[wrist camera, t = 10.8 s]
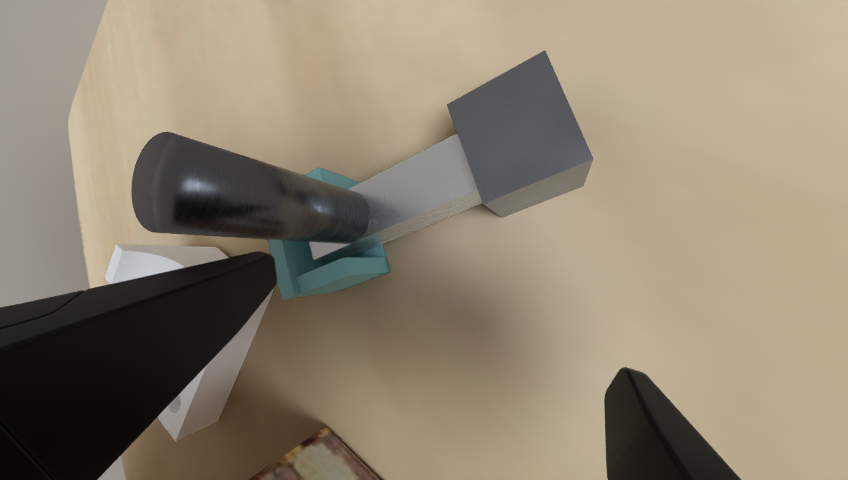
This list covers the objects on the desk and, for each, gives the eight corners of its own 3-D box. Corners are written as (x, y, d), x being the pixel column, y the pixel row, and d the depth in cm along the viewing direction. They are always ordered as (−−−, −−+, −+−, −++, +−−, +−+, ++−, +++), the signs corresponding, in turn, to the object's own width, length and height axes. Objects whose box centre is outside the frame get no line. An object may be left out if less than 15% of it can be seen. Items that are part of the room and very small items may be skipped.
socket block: (364, 184, 22) (313, 165, 17) (390, 271, 21) (343, 275, 16) (316, 208, 24) (258, 197, 19) (338, 291, 22) (281, 299, 18)
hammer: (491, 142, 18) (381, -50, 7) (510, 191, 17) (424, 71, 6) (334, 218, 22) (102, 178, 11) (345, 259, 21) (113, 262, 10)
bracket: (226, 247, 28) (116, 244, 21) (277, 288, 25) (170, 300, 18) (178, 369, 30) (62, 403, 23) (221, 419, 27) (104, 475, 20)
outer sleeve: (548, 104, 17) (545, 50, 13) (583, 186, 17) (593, 158, 12) (473, 141, 19) (446, 104, 14) (501, 217, 18) (482, 204, 14)
